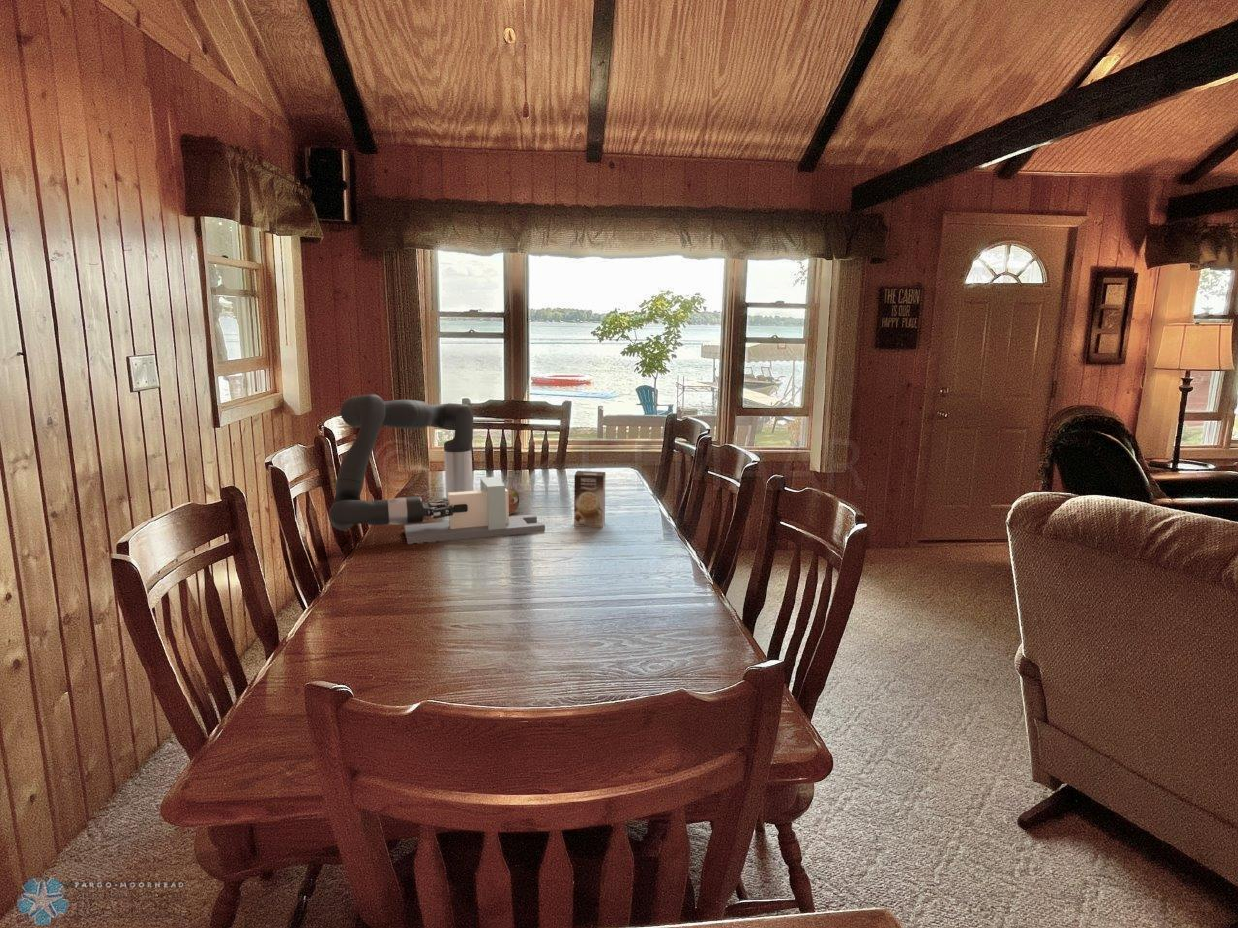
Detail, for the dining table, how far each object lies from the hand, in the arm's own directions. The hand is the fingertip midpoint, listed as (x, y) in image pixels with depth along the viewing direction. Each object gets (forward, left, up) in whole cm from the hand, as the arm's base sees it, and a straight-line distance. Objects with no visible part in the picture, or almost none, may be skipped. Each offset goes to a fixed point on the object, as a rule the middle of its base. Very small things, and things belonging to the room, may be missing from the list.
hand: (466, 506), depth 211 cm
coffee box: (+3, +37, -8) cm, 38 cm away
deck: (0, +2, -8) cm, 8 cm away
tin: (-16, +13, -8) cm, 22 cm away
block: (0, +4, -6) cm, 7 cm away
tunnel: (0, +8, -6) cm, 10 cm away
